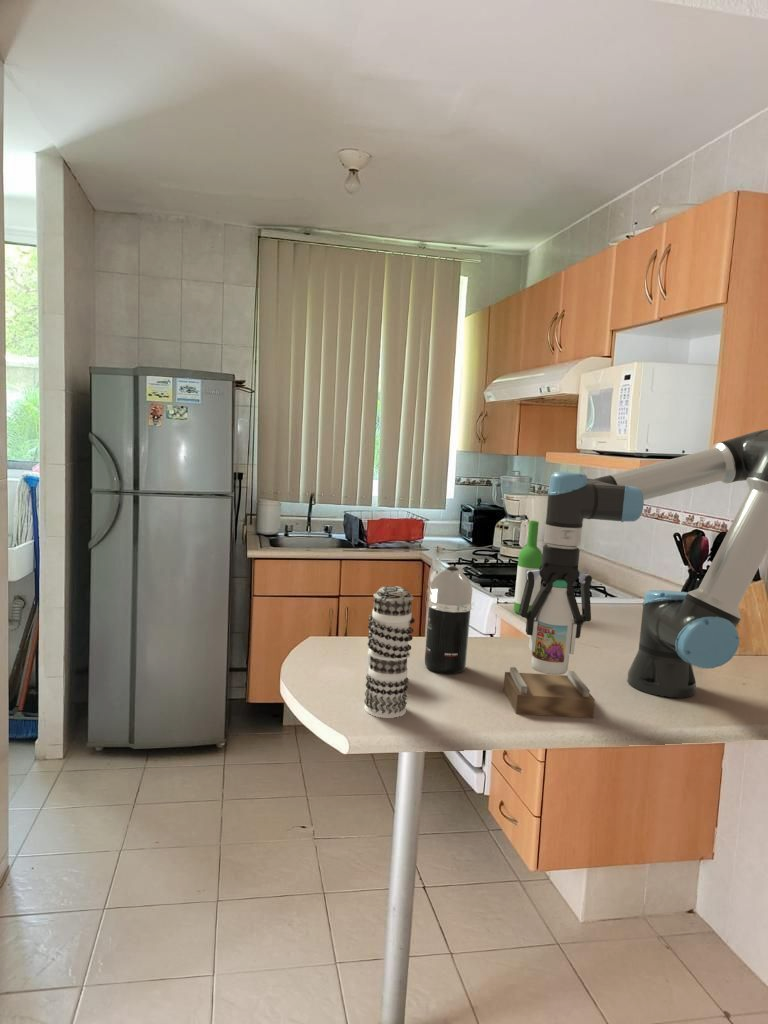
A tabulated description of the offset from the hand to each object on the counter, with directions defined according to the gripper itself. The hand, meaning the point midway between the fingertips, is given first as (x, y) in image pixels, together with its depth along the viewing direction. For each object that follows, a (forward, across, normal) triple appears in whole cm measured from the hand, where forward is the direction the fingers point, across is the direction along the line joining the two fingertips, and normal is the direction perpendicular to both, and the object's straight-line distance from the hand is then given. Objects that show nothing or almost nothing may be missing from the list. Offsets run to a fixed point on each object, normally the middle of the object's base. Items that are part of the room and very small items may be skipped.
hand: (551, 650), depth 156 cm
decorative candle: (+12, -35, -9) cm, 38 cm away
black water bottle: (+12, -20, +19) cm, 30 cm away
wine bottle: (+12, +12, +78) cm, 80 cm away
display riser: (+12, 0, 0) cm, 12 cm away
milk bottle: (+4, 0, 0) cm, 4 cm away
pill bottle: (+12, -35, +10) cm, 38 cm away
